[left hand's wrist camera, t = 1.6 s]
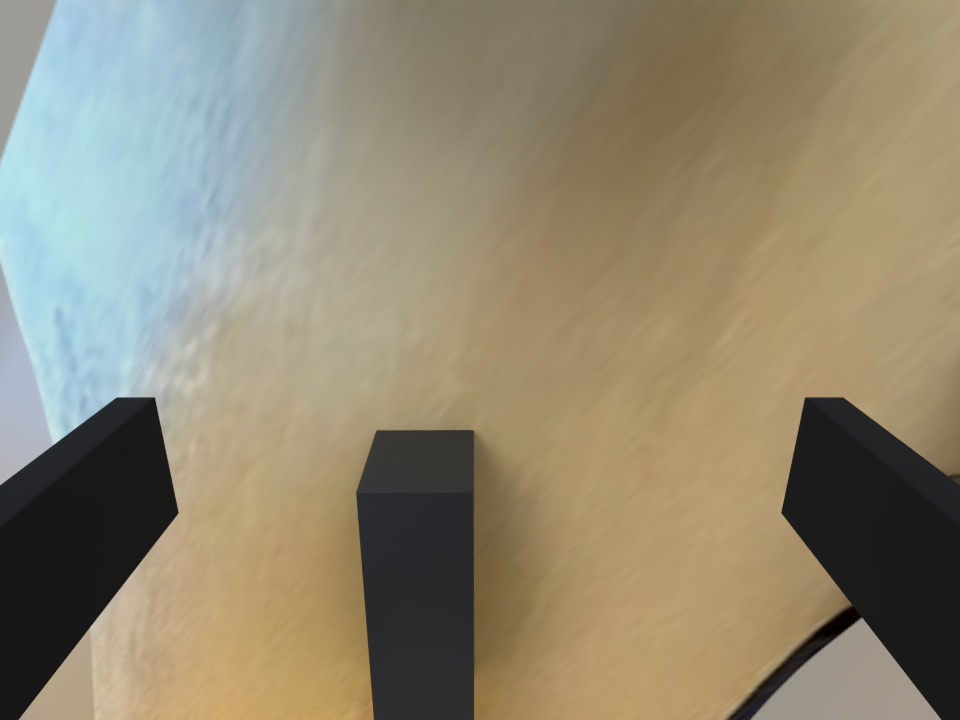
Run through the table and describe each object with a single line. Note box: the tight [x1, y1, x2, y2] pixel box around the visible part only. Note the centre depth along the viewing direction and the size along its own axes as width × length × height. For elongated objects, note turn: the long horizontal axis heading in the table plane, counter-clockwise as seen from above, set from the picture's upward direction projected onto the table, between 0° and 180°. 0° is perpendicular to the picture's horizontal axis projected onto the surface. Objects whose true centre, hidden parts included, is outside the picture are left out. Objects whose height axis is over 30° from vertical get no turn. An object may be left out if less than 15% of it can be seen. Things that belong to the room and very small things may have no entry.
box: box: [356, 430, 474, 720], centre depth 47 cm, size 25×7×9 cm, turn 0°
